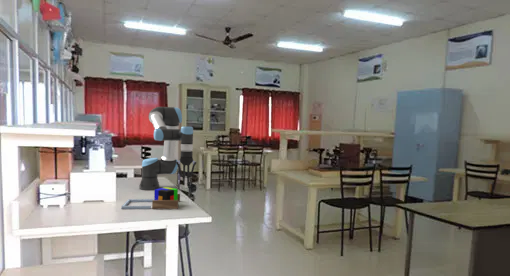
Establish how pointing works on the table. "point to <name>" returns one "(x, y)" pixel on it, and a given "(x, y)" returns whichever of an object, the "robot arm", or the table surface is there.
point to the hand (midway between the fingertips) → (185, 187)
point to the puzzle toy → (166, 194)
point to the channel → (165, 204)
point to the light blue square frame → (136, 206)
